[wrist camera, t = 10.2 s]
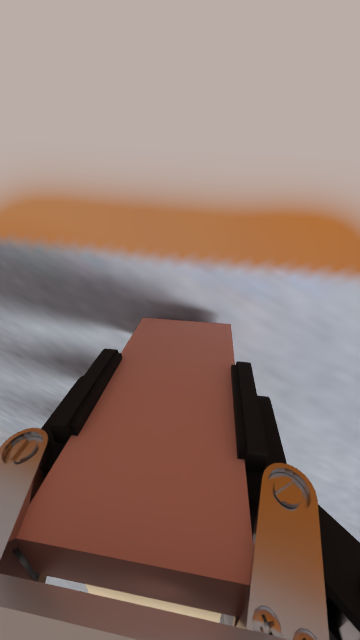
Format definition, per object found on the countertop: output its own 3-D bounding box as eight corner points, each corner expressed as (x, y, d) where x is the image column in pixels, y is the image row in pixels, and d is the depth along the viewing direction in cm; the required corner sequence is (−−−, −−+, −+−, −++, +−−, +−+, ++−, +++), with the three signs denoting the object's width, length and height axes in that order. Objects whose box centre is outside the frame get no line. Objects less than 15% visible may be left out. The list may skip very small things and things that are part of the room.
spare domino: (226, 353, 14) (242, 618, 5) (144, 346, 15) (36, 572, 6) (230, 324, 13) (257, 586, 4) (142, 317, 14) (9, 536, 5)
